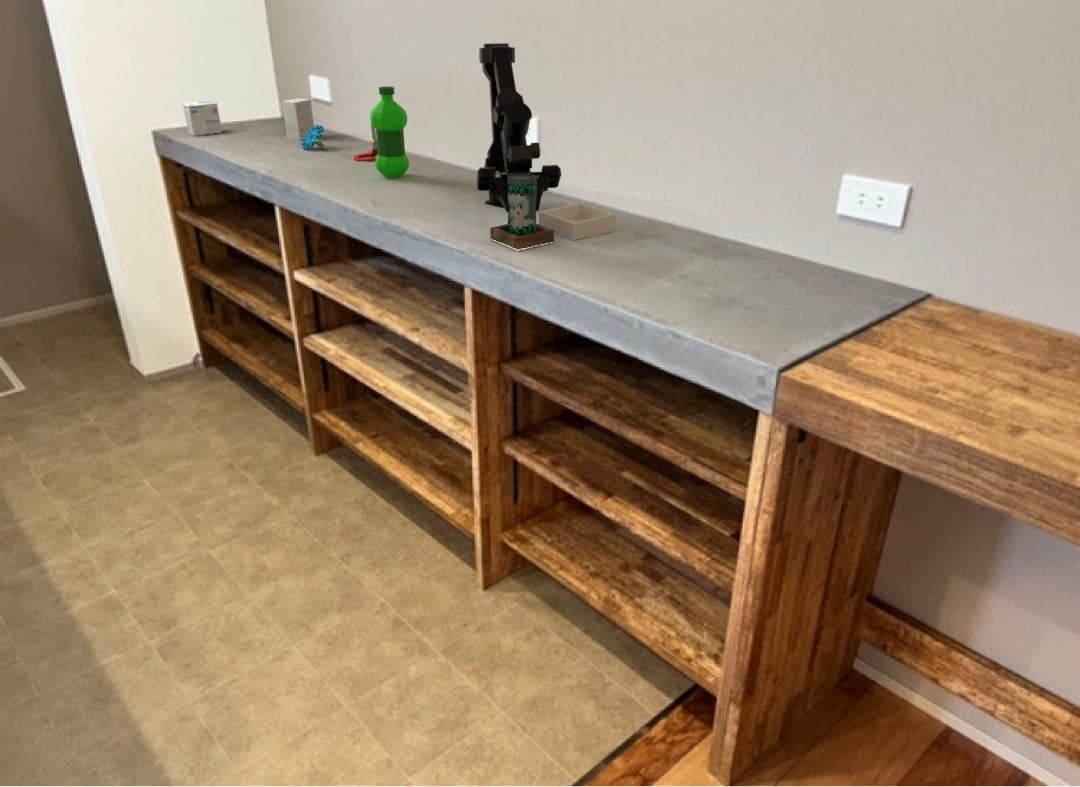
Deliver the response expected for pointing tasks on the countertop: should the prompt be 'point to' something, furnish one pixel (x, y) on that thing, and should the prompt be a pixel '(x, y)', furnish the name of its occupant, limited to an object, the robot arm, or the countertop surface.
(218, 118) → the light bulb box
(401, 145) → the plastic bottle
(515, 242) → the holder
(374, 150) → the tow hook
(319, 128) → the blue flower bunch
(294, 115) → the small box
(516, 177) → the can
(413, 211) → the countertop surface
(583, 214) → the bin
